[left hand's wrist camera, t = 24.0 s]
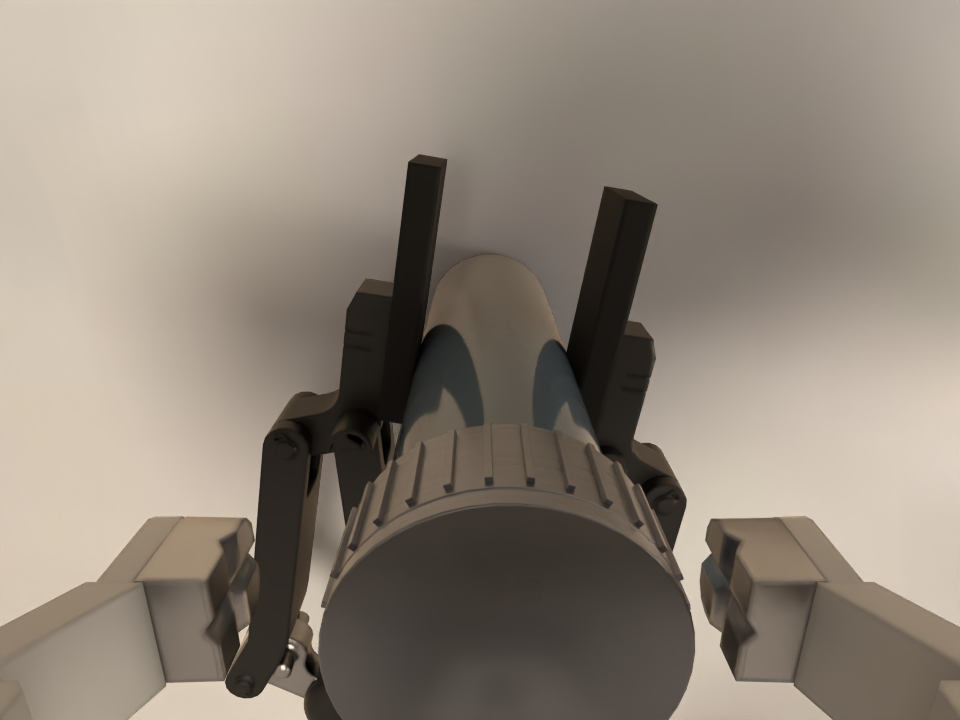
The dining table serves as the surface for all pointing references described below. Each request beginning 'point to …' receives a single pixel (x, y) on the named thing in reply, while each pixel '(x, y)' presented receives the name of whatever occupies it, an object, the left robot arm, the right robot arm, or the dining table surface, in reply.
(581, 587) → the lid
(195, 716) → the dining table surface
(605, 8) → the dining table surface
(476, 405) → the grey cylinder
